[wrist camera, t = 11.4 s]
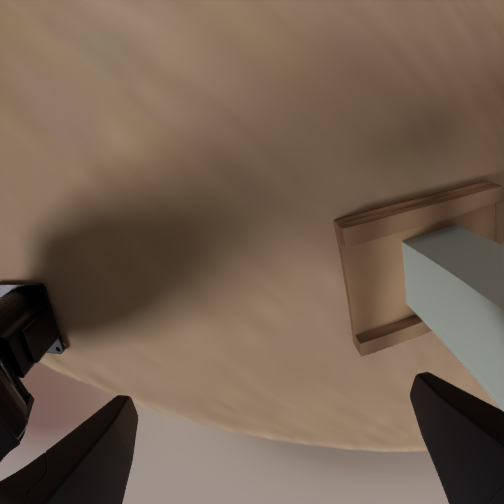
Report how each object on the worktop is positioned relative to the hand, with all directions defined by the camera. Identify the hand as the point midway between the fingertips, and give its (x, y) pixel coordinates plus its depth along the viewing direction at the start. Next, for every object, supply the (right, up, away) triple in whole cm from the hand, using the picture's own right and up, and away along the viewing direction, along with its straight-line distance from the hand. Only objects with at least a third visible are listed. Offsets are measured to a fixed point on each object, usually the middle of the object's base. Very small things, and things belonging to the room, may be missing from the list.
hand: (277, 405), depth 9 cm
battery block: (+13, +4, +12) cm, 18 cm away
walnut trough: (+13, +4, +13) cm, 18 cm away
